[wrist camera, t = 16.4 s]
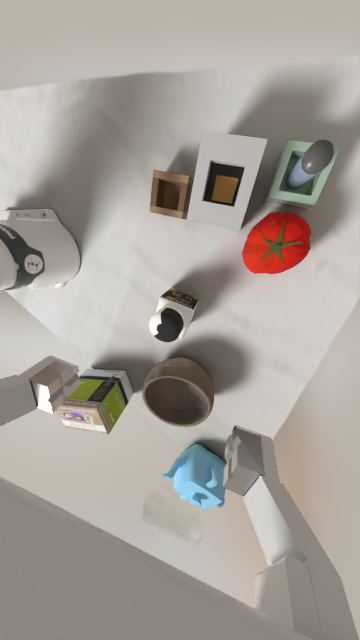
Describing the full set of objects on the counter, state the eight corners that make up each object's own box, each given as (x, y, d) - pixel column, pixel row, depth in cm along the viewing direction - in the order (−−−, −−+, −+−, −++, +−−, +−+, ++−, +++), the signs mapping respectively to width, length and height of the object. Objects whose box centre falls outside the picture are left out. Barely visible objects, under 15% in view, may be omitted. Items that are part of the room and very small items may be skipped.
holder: (158, 213, 37) (149, 211, 33) (163, 176, 35) (153, 169, 31) (187, 219, 36) (181, 218, 33) (194, 182, 34) (188, 175, 30)
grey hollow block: (197, 221, 36) (186, 219, 28) (211, 155, 31) (202, 130, 24) (239, 230, 35) (239, 230, 27) (260, 162, 30) (267, 139, 22)
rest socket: (265, 200, 32) (268, 197, 29) (282, 150, 29) (288, 139, 25) (306, 208, 31) (314, 205, 28) (328, 157, 28) (341, 146, 24)
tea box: (97, 390, 67) (64, 428, 54) (87, 367, 63) (49, 402, 50) (134, 394, 62) (108, 436, 50) (126, 369, 59) (95, 408, 46)
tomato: (314, 240, 33) (336, 243, 25) (263, 282, 37) (269, 294, 30) (278, 199, 32) (290, 190, 24) (231, 247, 36) (229, 252, 29)
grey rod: (282, 187, 30) (298, 171, 21) (290, 165, 29) (310, 138, 20) (301, 190, 29) (325, 174, 21) (310, 168, 28) (339, 141, 20)
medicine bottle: (199, 298, 42) (187, 320, 32) (189, 324, 46) (175, 352, 35) (170, 287, 43) (149, 305, 33) (163, 313, 47) (141, 337, 36)
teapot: (227, 444, 61) (224, 496, 49) (228, 474, 67) (226, 526, 55) (173, 434, 66) (159, 478, 54) (179, 463, 72) (168, 508, 61)
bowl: (222, 397, 53) (219, 430, 44) (166, 398, 59) (153, 427, 51) (207, 345, 47) (200, 371, 38) (146, 352, 53) (128, 376, 45)
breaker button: (213, 201, 32) (211, 199, 30) (218, 178, 30) (216, 174, 28) (231, 205, 31) (231, 203, 29) (238, 182, 30) (238, 178, 28)
